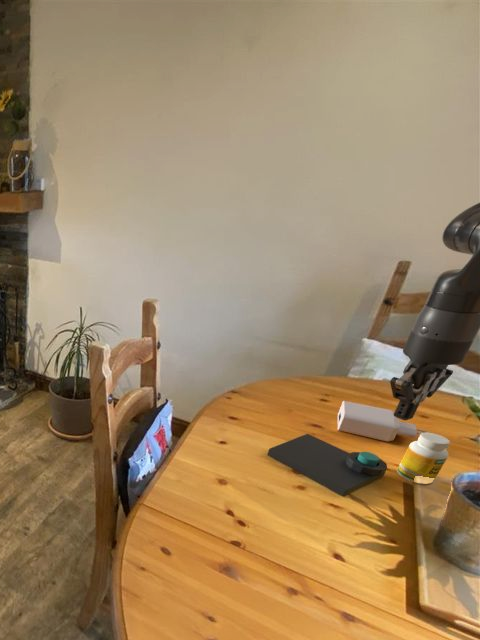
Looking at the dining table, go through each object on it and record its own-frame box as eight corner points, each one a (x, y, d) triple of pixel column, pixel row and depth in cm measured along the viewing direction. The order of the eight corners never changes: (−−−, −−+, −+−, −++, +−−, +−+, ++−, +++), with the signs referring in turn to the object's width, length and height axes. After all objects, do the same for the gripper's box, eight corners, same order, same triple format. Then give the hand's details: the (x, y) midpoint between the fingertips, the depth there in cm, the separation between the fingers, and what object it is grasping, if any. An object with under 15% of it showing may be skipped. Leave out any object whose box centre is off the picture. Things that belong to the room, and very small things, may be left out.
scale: (386, 478, 84) (393, 464, 83) (345, 498, 80) (351, 484, 79) (306, 439, 97) (311, 427, 96) (266, 455, 93) (271, 442, 91)
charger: (425, 452, 91) (337, 432, 99) (419, 433, 97) (337, 415, 106) (435, 434, 89) (344, 415, 97) (428, 415, 95) (343, 398, 104)
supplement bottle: (402, 465, 88) (422, 427, 83) (437, 479, 83) (460, 440, 79) (390, 474, 85) (410, 435, 81) (425, 489, 81) (448, 449, 77)
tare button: (379, 464, 84) (383, 457, 83) (371, 468, 83) (373, 462, 82) (362, 456, 86) (365, 449, 86) (353, 460, 85) (356, 453, 85)
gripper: (445, 346, 67) (402, 435, 75) (497, 332, 70) (450, 419, 78) (390, 332, 73) (355, 415, 81) (440, 320, 76) (402, 401, 84)
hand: (402, 417), depth 79 cm, fingers closed
